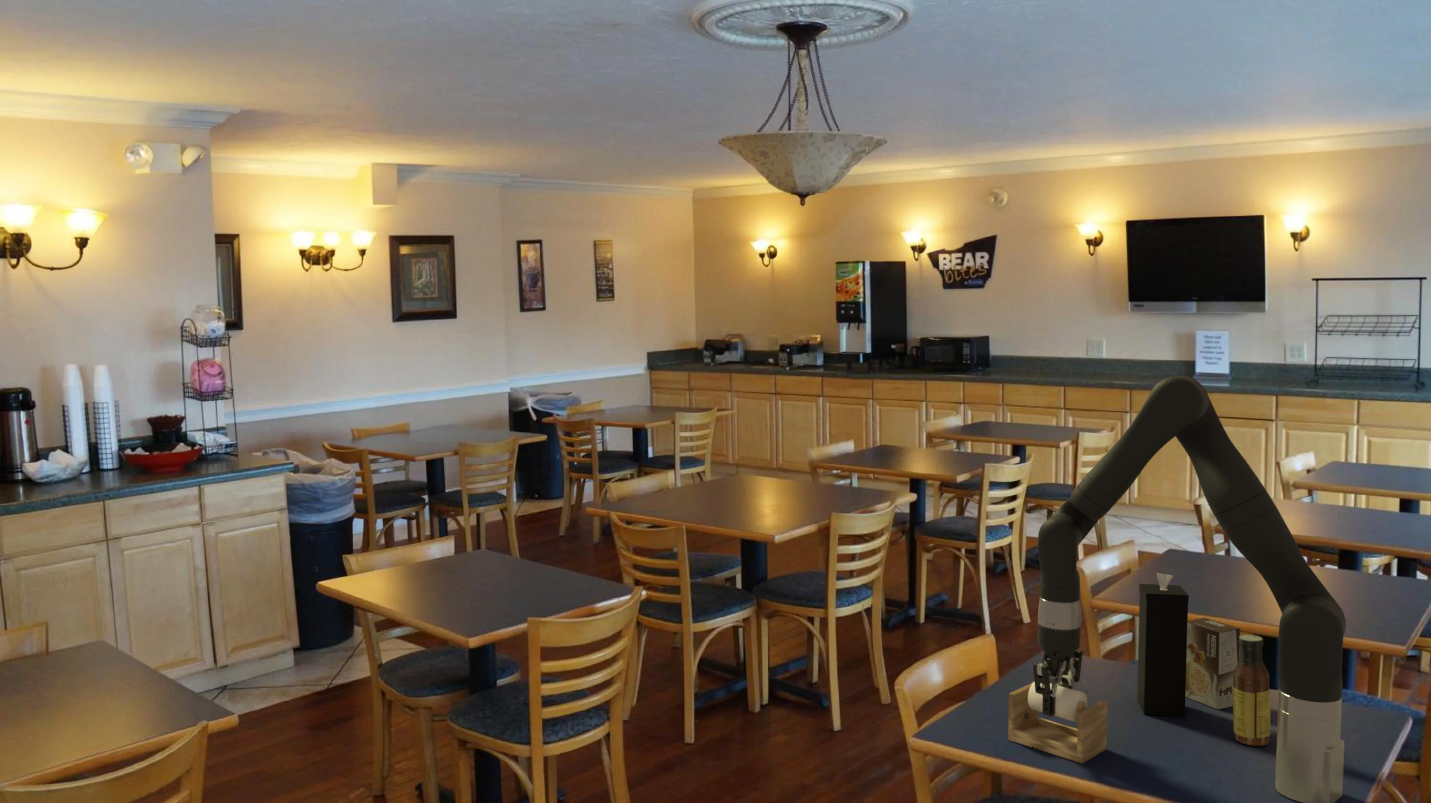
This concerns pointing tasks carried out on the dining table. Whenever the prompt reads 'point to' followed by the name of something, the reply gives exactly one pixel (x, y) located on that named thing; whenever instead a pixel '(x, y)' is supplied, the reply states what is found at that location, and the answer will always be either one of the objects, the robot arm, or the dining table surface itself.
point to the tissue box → (1162, 647)
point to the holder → (1058, 729)
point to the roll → (1060, 702)
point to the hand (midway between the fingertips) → (1057, 710)
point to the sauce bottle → (1251, 694)
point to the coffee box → (1211, 662)
